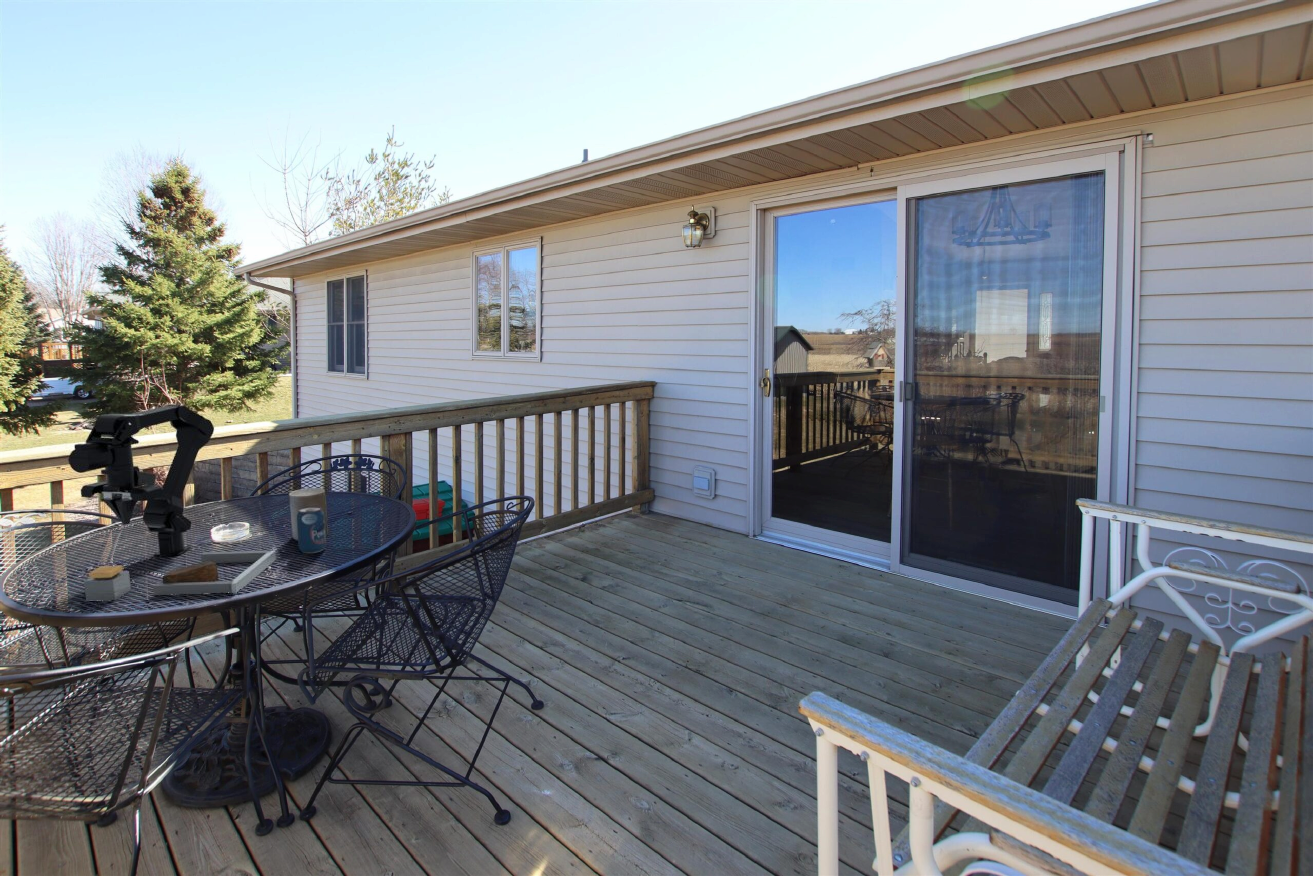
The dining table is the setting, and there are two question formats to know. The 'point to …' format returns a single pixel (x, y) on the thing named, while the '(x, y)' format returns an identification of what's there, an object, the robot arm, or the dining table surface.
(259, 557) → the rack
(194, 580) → the brown wedge block
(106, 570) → the button
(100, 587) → the box
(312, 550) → the soda can
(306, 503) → the pillar candle
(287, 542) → the dining table surface
